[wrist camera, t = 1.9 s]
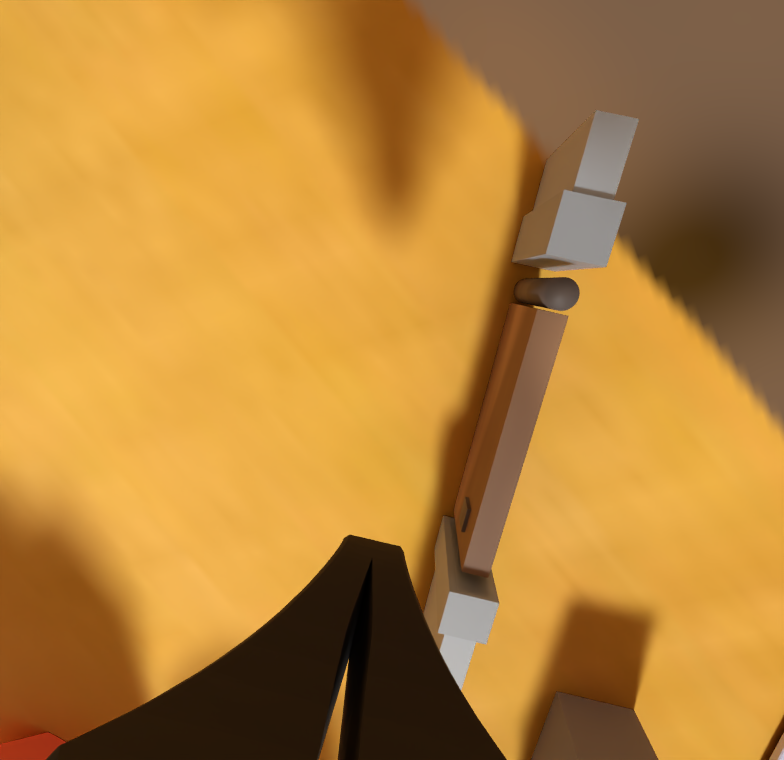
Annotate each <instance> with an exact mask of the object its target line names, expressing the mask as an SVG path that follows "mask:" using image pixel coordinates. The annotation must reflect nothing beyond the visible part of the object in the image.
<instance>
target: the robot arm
mask: <svg viewBox="0 0 784 760" xmlns="http://www.w3.org/2000/svg"><path fill="white" fill-rule="evenodd" d="M348 659H349V663H348ZM347 663H348V672H347V681H346V690H345V699H344V708H343V717H342V726H341V735H340V744H339V753H338V760H506V758H505V757H504V755H503V754H502V752H501V751H500V749H499V748H498V747H497V745H496V744H495V742H494V741H493V739H492V738H491V737H490V735H489V734H488V732H487V731H486V729H485V728H484V726H483V725H482V724H481V722H480V721H479V719H478V718H477V716H476V714H475V713H474V711H473V710H472V708H471V706H470V705H469V703H468V701H467V700H466V698H465V697H464V695H463V693H462V692H461V690H460V688H459V686H458V684H457V683H456V681H455V679H454V677H453V676H452V674H451V672H450V670H449V668H448V666H447V664H446V663H445V661H444V659H443V657H442V655H441V653H440V651H439V648H438V646H437V644H436V642H435V640H434V638H433V636H432V633H431V631H430V629H429V627H428V624H427V622H426V620H425V617H424V615H423V612H422V609H421V607H420V604H419V602H418V599H417V597H416V594H415V591H414V588H413V585H412V582H411V579H410V576H409V572H408V569H407V565H406V561H405V556H404V552H403V550H402V548H401V547H400V546H396V545H392V544H388V543H383V542H379V541H375V540H371V539H366V538H362V537H358V536H353V535H349V536H347V537H345V538H344V539H343V541H342V543H341V545H340V546H339V548H338V549H337V551H336V552H335V553H334V555H333V556H332V557H331V558H330V560H329V561H328V562H327V563H326V565H325V566H324V567H323V568H322V569H321V570H320V571H319V573H318V574H317V575H316V576H315V577H314V578H313V579H312V580H311V581H310V583H309V584H308V585H307V586H306V587H305V588H304V589H303V590H302V591H301V592H300V593H299V594H298V595H297V596H296V597H295V598H293V599H292V600H291V601H290V602H289V603H288V604H287V605H286V606H285V607H284V608H283V609H282V610H281V611H280V612H279V613H277V614H276V615H275V616H274V617H273V618H272V619H271V620H269V621H268V622H267V623H266V624H265V625H263V626H262V627H261V628H260V629H258V630H257V631H256V632H255V633H253V634H252V635H251V636H250V637H248V638H247V639H246V640H244V641H243V642H242V643H240V644H239V645H237V646H236V647H235V648H233V649H232V650H230V651H229V652H228V653H226V654H225V655H223V656H222V657H221V658H219V659H218V660H216V661H215V662H213V663H212V664H210V665H209V666H207V667H206V668H204V669H203V670H201V671H200V672H198V673H196V674H195V675H193V676H191V677H190V678H188V679H186V680H185V681H183V682H181V683H179V684H178V685H176V686H174V687H173V688H171V689H169V690H168V691H166V692H164V693H163V694H161V695H159V696H157V697H156V698H154V699H152V700H151V701H149V702H147V703H145V704H143V705H141V706H140V707H138V708H136V709H134V710H132V711H130V712H128V713H126V714H124V715H122V716H120V717H118V718H116V719H114V720H112V721H110V722H108V723H106V724H104V725H102V726H100V727H98V728H96V729H94V730H92V731H89V732H87V733H85V734H83V735H81V736H79V737H77V738H75V739H73V740H70V741H68V742H66V743H64V744H61V745H60V746H58V747H57V748H56V749H55V750H54V751H53V752H52V753H51V754H50V755H49V756H48V758H47V759H46V760H318V759H319V756H320V753H321V749H322V746H323V743H324V739H325V736H326V733H327V729H328V726H329V723H330V719H331V716H332V713H333V709H334V706H335V703H336V699H337V696H338V693H339V689H340V686H341V683H342V679H343V676H344V673H345V669H346V666H347ZM769 760H784V733H783V735H782V737H781V738H780V740H779V742H778V744H777V746H776V748H775V750H774V751H773V753H772V755H771V757H770V759H769Z"/></svg>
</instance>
